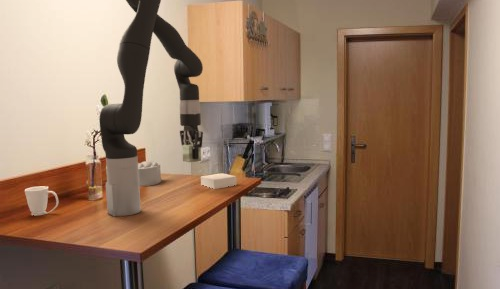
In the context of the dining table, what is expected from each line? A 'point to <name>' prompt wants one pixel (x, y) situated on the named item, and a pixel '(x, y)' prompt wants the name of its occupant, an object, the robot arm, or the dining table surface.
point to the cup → (39, 199)
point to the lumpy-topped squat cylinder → (149, 173)
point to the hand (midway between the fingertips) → (192, 158)
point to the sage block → (190, 153)
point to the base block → (218, 180)
